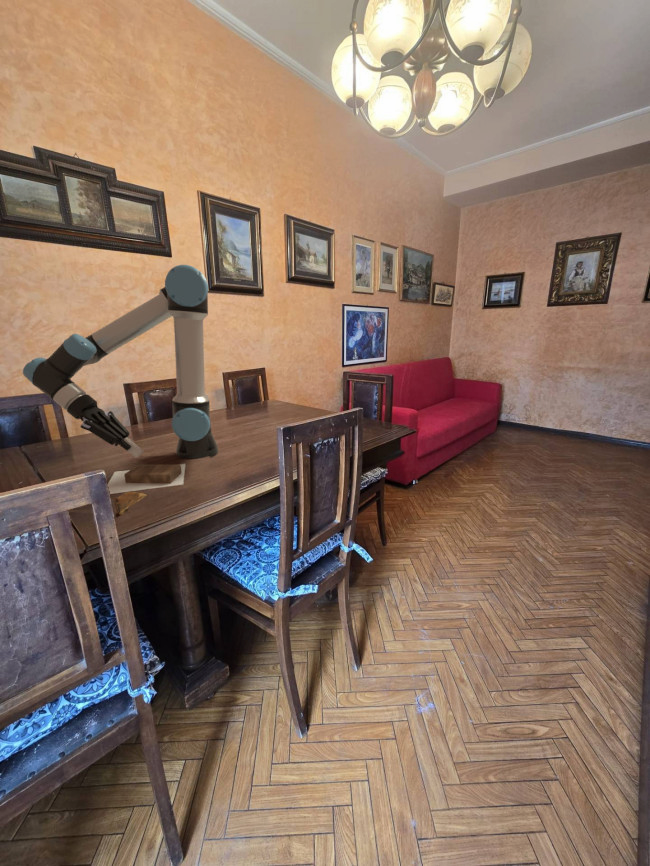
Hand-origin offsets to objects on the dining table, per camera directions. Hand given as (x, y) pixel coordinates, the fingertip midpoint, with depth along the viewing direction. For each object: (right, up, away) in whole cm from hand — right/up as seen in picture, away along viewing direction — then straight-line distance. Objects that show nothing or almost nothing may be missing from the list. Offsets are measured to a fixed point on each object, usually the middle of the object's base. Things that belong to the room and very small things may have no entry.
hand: (140, 454), depth 109 cm
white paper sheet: (+1, -8, +3) cm, 9 cm away
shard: (+4, -13, -12) cm, 18 cm away
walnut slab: (-4, -6, +2) cm, 7 cm away
